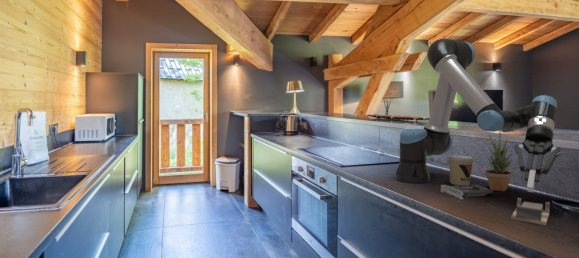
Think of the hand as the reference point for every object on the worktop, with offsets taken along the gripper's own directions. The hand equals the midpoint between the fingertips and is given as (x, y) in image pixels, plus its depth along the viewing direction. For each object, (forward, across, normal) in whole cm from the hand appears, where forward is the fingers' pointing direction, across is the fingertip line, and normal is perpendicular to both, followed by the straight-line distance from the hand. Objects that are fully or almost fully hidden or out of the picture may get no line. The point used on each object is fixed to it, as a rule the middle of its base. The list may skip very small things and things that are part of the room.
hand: (530, 189), depth 107 cm
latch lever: (+2, +1, +7) cm, 7 cm away
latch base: (+7, +1, +5) cm, 8 cm away
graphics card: (-4, -21, +17) cm, 27 cm away
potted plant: (-16, -14, +28) cm, 35 cm away
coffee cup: (-16, -29, +29) cm, 44 cm away
